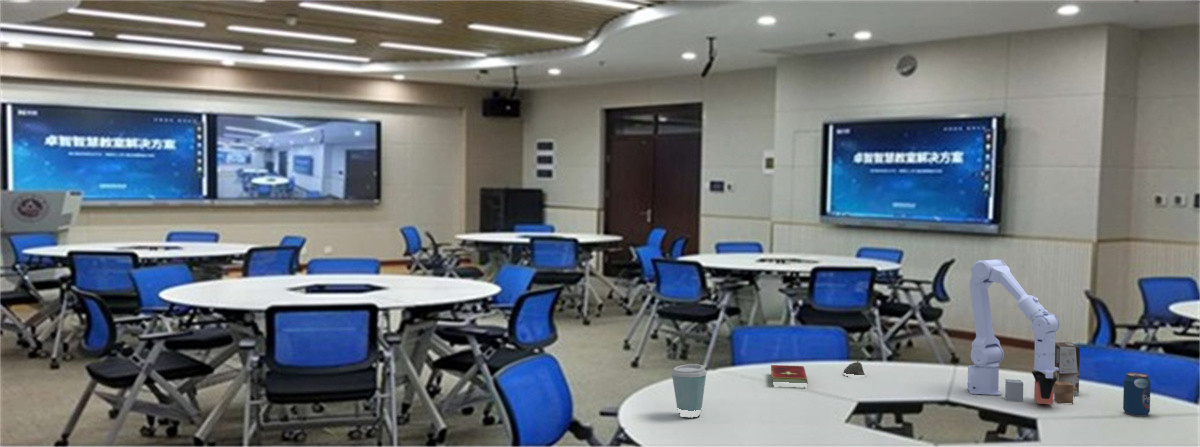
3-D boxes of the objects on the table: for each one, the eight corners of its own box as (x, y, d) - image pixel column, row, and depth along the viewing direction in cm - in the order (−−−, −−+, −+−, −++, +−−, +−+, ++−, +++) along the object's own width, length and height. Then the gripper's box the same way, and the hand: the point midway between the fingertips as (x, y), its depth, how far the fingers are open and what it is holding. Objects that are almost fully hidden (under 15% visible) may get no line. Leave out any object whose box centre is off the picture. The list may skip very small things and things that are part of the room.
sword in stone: (838, 373, 333) (839, 340, 333) (859, 373, 334) (860, 341, 333) (848, 379, 323) (849, 345, 323) (869, 379, 324) (871, 346, 323)
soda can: (1149, 418, 269) (1150, 377, 268) (1122, 414, 272) (1123, 375, 272) (1149, 412, 275) (1150, 373, 274) (1123, 409, 278) (1124, 371, 278)
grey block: (1007, 400, 290) (1008, 382, 290) (1005, 397, 295) (1005, 379, 295) (1023, 401, 289) (1023, 382, 289) (1020, 398, 294) (1020, 379, 293)
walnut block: (1057, 403, 287) (1057, 384, 287) (1054, 400, 291) (1054, 381, 291) (1073, 404, 286) (1073, 385, 285) (1069, 400, 290) (1069, 382, 290)
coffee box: (1079, 396, 296) (1080, 346, 295) (1058, 395, 297) (1059, 346, 297) (1071, 389, 305) (1072, 342, 304) (1050, 389, 306) (1051, 341, 306)
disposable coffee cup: (683, 422, 266) (683, 371, 265) (664, 414, 275) (664, 364, 274) (713, 417, 271) (713, 367, 270) (693, 409, 280) (693, 361, 279)
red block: (1037, 403, 283) (1037, 384, 283) (1034, 399, 287) (1034, 381, 287) (1053, 404, 282) (1053, 385, 281) (1049, 400, 286) (1050, 381, 286)
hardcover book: (804, 376, 329) (804, 365, 329) (807, 390, 308) (807, 377, 308) (770, 375, 331) (770, 364, 331) (771, 388, 310) (771, 376, 310)
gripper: (1064, 358, 276) (1063, 402, 276) (1053, 349, 290) (1052, 391, 290) (1039, 357, 277) (1038, 401, 278) (1029, 348, 291) (1028, 390, 292)
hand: (1043, 396), depth 284 cm, fingers closed on red block, 4 cm apart
